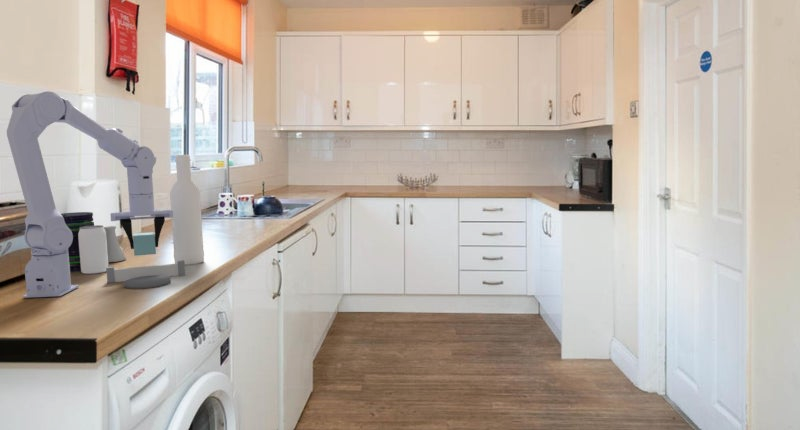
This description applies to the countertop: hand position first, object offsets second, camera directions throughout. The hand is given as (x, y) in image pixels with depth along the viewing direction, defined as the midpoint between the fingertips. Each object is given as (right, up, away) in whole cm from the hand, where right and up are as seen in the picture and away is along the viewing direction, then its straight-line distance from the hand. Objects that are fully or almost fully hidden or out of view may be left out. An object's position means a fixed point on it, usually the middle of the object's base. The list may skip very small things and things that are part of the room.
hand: (144, 247), depth 154 cm
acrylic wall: (+3, -7, -6) cm, 10 cm away
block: (0, -2, 0) cm, 2 cm away
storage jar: (-23, -7, +10) cm, 26 cm away
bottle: (+6, -5, +15) cm, 17 cm away
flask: (-18, -5, +21) cm, 29 cm away
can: (-15, -7, +5) cm, 17 cm away
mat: (+6, -8, -12) cm, 15 cm away
